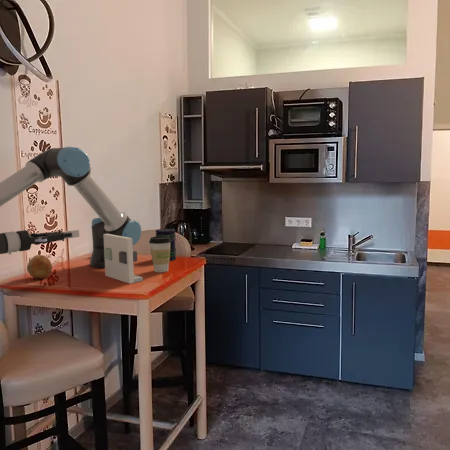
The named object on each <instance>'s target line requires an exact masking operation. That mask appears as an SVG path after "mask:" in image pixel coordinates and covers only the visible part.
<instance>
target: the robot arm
mask: <svg viewBox="0 0 450 450" xmlns="http://www.w3.org/2000/svg"><path fill="white" fill-rule="evenodd" d="M90 161H91V160H90V158H89V155H88V154H87V153H86V151H84V150H83V149H81V148H80V147H75V146H64V147H52V148H48V149H46V150H44V151H41V153H39V154H38V155H36V156H34V157H33V158H31V159H30V160H28V161H27V162H26V163H25V166H23V167H22V168H21V169H19V170H17V171H15V172H14V173H13V174H11V175H10V176H8V177H7V178H4V180H2V181H0V208H1V207H2V206H3V205H5V204H6V203H9V202H10V201H12V199H14V198H15V197H17V196H18V195H20V194H21V193H22V192H25V191H26V190H28V189H29V188H31V187H32V186H33V185H35V184H37V183H43V182H44V181H45V180H47V179H50V178H54V177H59V178H60V177H61V179H62V180H63V181H64V182H65V183H66V184H67V186H70V187H74V188H75V190H76V191H77V192H78V193H79V194H80V196H81V197H82V198H83V199H84V201H85V202H86V203H87V204H88V205H89V207H90V208H91V209H92V210H93V211H94V212H95V214H96V215H97V216H98V217H94V218H92V219H91V236H92V252H91V255H90V259H89V266H90V267H92V268H99V269H101V268H104V269H105V256H104V236H103V234H112V235H117V236H123V237H128V238H132V244H133V246H135V245H136V244H137V243H138V242H139V241H140V239H141V237H142V226H141V224H140V222H138V221H136V220H134V219H131V218H130V216H128V215H127V213H126V212H124V211H120V210H119V209H118V207H117V206H116V205H115V203H114V202H113V201H112V199H111V198H110V197H109V195H108V194H107V193H106V191H105V190H104V188H102V187H101V185H100V184H99V182H98V181H97V180H96V179H95V178H94V176H93V175H92V167H91V163H90ZM74 238H80V230H79V229H74V230H67V231H62V230H61V229H59V230H57V231H51V232H39V233H30V232H29V231H28V230H17V231H7V232H6V231H5V232H2V233H0V255H4V254H8V255H12V253H17V252H24V251H30V249H31V247H32V245H35V246H38V245H41V244H42V245H45V244H49V243H54V242H55V243H56V242H60V241H62V242H64V241H65V240H67V239H74Z"/></svg>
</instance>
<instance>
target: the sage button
mask: <svg viewBox="0 0 450 450" xmlns="http://www.w3.org/2000/svg"><path fill="white" fill-rule="evenodd" d="M104 250H105V258H106V259H109V260H110V259H112V249H111V248H108V249H104Z"/></svg>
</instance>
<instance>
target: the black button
mask: <svg viewBox="0 0 450 450" xmlns="http://www.w3.org/2000/svg"><path fill="white" fill-rule="evenodd" d="M119 262H121V263H127V253H126V252H119ZM134 262H138V251H137V250H136V251H135V250H133V263H134Z"/></svg>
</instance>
